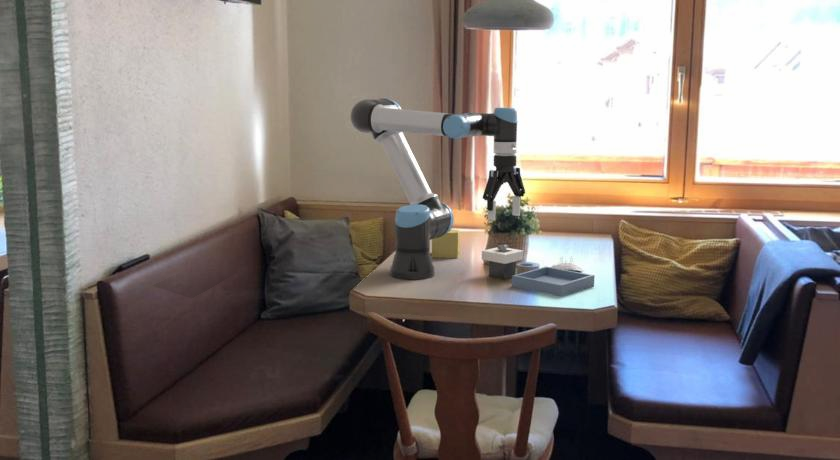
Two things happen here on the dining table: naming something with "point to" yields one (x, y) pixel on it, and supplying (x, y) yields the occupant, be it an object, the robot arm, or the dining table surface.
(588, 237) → the dining table surface
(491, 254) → the ring
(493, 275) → the grey block with post
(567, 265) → the pincushion
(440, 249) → the cheese
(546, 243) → the dining table surface
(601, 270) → the dining table surface
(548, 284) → the tray
